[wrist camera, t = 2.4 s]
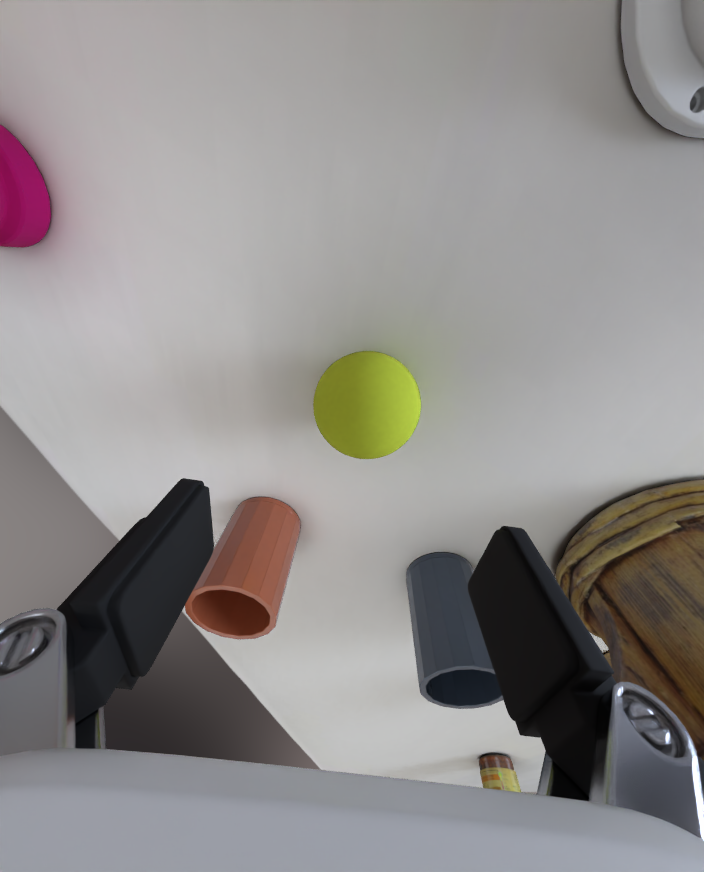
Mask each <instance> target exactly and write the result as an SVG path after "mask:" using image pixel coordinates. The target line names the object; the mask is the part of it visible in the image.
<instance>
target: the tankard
mask: <svg viewBox="0 0 704 872" xmlns="http://www.w3.org/2000/svg"><path fill="white" fill-rule="evenodd" d="M556 580H557V582H558V584H559V585H560V587H561V588H562V590H563V592H564V593H565V595H566V596H567V598H568V600H569V601H570V603H571V604H572V606H573V607H574V609H575V611H576V612H577V614H578V615H579V617H580V619H581V620H582V622H583V623H584V625H585V626H586V628H587V630H588V631H589V632H591V633H592V634H594V635H595V636H597V637H600V638H602V640H603V641H604V642H605V644H606V645H607V647H608V649H609V653H610V658H611V664H612V669H613V671H614V674H613V675H612V676H613V678H614V680H615V681H616V683H619V682H631V683H633V684H636V685H639V686H641V687H642V688H644V689H646V690H648V691H649V692H651V693H652V694H653V695H655V696H656V697H657V698H658V699H660V700H661V701H662V702H663V703H664V704H665V705H666V706H667V707H668V708H669V709H670V710H671V711H672V712H673V713H674V714H675V715H676V716H677V718H678V719H679V720H680V721H681V723H682V724H683V725H684V727H685V728H686V730H687V732H688V733H689V735H690V737H691V739H692V741H693V743H694V746H695V749H696V753H697V755H698V756H699V757H700V758H701V759H703V760H704V480H693V481H687V482H682V483H676V484H671V485H666V486H662V487H657V488H653V489H648V490H645V491H643V492H640V493H638V494H635V495H633V496H631V497H628V498H626V499H623V500H621V501H618V502H616V503H614V504H612V505H611V506H609V507H607V508H606V509H604V510H603V511H601V512H600V513H599V514H597V515H596V516H595V517H593V518H592V519H591V520H590V521H588V522H587V523H586V524H585V525H584V526H583V527H582V528H581V529H580V530H578V531H577V532H576V534H575V535H574V536H573V537H572V538H571V540H570V541H569V544H568V546H567V548H566V550H565V552H564V555H563V557H562V559H561V560H560V561H559V563H558V566H557V569H556Z"/></svg>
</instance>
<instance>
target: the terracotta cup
mask: <svg viewBox="0 0 704 872" xmlns="http://www.w3.org/2000/svg"><path fill="white" fill-rule="evenodd" d="M300 529H301V523H300V520H299V517H298V515H297V514H296V512H295V511H294V510H293V509H292V508H291V507H290V506H288V505H287V504H285V503H283V502H281V501H279V500H276V499H273V498H268V497H255V498H250V499H247V500H245V501H243V502H242V503H241V504H240V505H238V507H237V508H236V510H235V512H234V513H233V515H232V516H231V518H230V520H229V522H228V524H227V525H226V527H225V529H224V531H223V533H222V534H221V536H220V538H219V540H218V542H217V543H216V545H215V547H214V549H213V553H212V556H211V558H210V560H209V562H208V563H207V565H206V567H205V569H204V571H203V573H202V574H201V576H200V578H199V580H198V582H197V584H196V585H195V587H194V589H193V591H192V593H191V595H190V596H189V598H188V600H187V602H186V604H185V610H186V613H187V614H188V616H189V617H190V618H191V619H192V621H193V622H194V623H196V624H197V625H199V626H200V627H202V628H203V629H205V630H206V631H208V632H211V633H214V634H216V635H219V636H223V637H227V638H233V639H255V638H258V637H261V636H264V635H267V634H268V633H269V632H270V631H271V630H272V629H273V628H274V627H275V626H276V623H277V619H278V615H279V611H280V608H281V604H282V600H283V596H284V592H285V588H286V585H287V581H288V577H289V573H290V569H291V565H292V562H293V558H294V554H295V550H296V546H297V543H298V539H299V533H300Z"/></svg>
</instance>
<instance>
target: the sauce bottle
mask: <svg viewBox="0 0 704 872" xmlns="http://www.w3.org/2000/svg"><path fill="white" fill-rule="evenodd" d="M479 765H480V774H481V779H482V784H483V788H488V789H497V790H505V791H514V792H521V790H520V786H519V783H518V779H517V775H516V772H515V771H514V768H513V764H512V761H511V759H510V758H509V757H507V756H504V755H499V754H495V755H486V756H483V757H481V758H480V760H479Z"/></svg>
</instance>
